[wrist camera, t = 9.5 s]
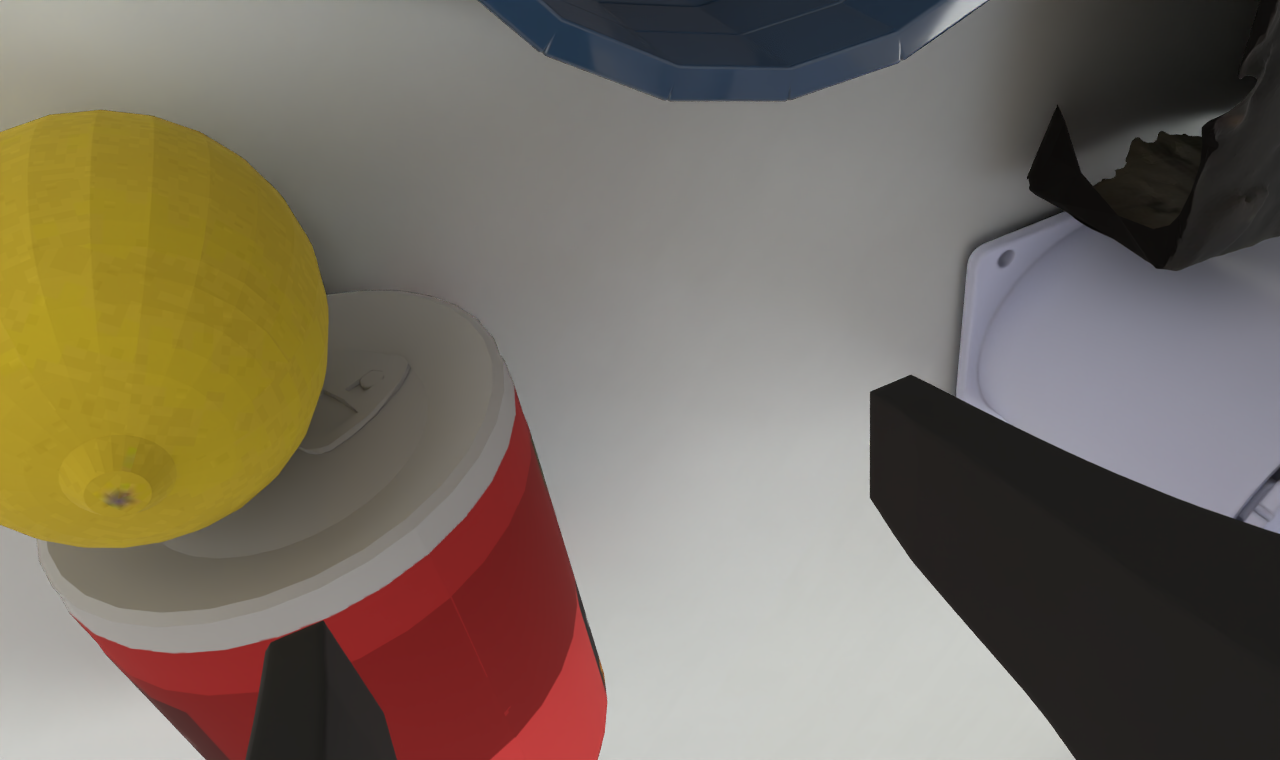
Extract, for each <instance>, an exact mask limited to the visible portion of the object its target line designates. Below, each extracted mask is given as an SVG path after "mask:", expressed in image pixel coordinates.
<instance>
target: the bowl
mask: <svg viewBox="0 0 1280 760" xmlns="http://www.w3.org/2000/svg"><path fill="white" fill-rule="evenodd" d="M477 1H478V2H480V3H481V4H482V5H483V6H484V7H486V8H487V9H488V10H489V11H490V12H492V13H493V14H494V15H495V16H496V17H498V18H499V19H500V20H501V21H502V22H503V23H505V24H506V25H507V26H508V27H509V28H511V29H512V30H513V31H514V32H515V33H517V34H518V35H519V36H520V37H521V38H523V39H524V40H525V41H526V42H527V43H529V44H530V45H531V46H532V47H533V48H534V49H536V50H537V51H538V52H541V53H543V54H544V55H545V56H547V57H549V58H552V59H555V60H557V61H560V62H563V63H565V64H568V65H571V66H573V67H576V68H579V69H581V70H584V71H587V72H589V73H592V74H595V75H597V76H600V77H603V78H605V79H608V80H611V81H613V82H616V83H619V84H621V85H624V86H627V87H629V88H632V89H635V90H637V91H640V92H643V93H645V94H648V95H651V96H653V97H656V98H659V99H661V100H668V101H747V102H784V101H787V100H793V99H795V98H798V97H801V96H804V95H807V94H810V93H813V92H816V91H819V90H822V89H825V88H827V87H830V86H833V85H836V84H839V83H842V82H845V81H848V80H851V79H854V78H856V77H859V76H862V75H865V74H868V73H871V72H874V71H877V70H880V69H883V68H885V67H888V66H891V65H894V64H897V63H899V62H900V61H901V60H905V59H907V58H908V57H909V56H911V55H912V54H914V53H915V52H917V51H918V50H919V49H921V48H922V47H924V46H925V45H927V44H928V43H929V42H931V41H932V40H934V39H935V38H936V37H938V36H939V35H941V34H942V33H944V32H945V31H946V30H948V29H949V28H951V27H952V26H954V25H955V24H956V23H958V22H959V21H961V20H962V19H964V18H965V17H966V16H968V15H969V14H971V13H972V12H973V11H975V10H976V9H978V8H979V7H981V6H982V5H983V4H985V3H986V2H988V1H989V0H477Z"/></svg>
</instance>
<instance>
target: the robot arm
mask: <svg viewBox="0 0 1280 760" xmlns="http://www.w3.org/2000/svg"><path fill="white" fill-rule="evenodd" d="M1001 255H1002V256H1001ZM870 499H871V500H872V502H873V503H874V505H875V506H876V508H877V509H878V511H879V512H880V514H881V516H882V517H883V519H884V520H885V522H886V523H887V525H888V526H889V528H890V529H891V531H892V533H893V534H894V535H895V537H896V538H897V540H898V541H899V543H900V544H901V546H902V547H903V549H904V550H905V551H906V553H907V554H908V556H909V557H910V559H911V560H912V561H913V563H914V564H915V565H916V566H917V567H918V569H919V570H920V571H921V572H922V573H923V575H924V576H925V577H926V578H927V579H928V580H929V582H930V583H931V584H932V585H933V586H934V587H935V589H936V590H937V591H938V592H939V593H940V594H941V596H942V597H943V598H944V599H945V600H946V601H947V603H948V604H949V605H950V606H951V607H952V608H953V610H954V611H955V612H956V613H957V614H958V615H959V616H960V618H961V619H962V620H963V621H964V622H965V623H966V624H967V626H968V627H969V628H970V629H971V630H972V631H973V632H974V634H975V635H976V636H977V637H978V638H979V639H980V641H981V642H982V643H983V644H984V645H985V646H986V647H987V649H988V650H989V651H990V652H991V653H992V654H993V655H994V657H995V658H996V659H997V660H998V661H999V662H1000V663H1001V665H1002V666H1003V667H1004V668H1005V669H1006V670H1007V672H1008V673H1009V674H1010V675H1011V676H1012V677H1013V678H1014V680H1015V681H1016V682H1017V683H1018V684H1019V685H1020V686H1021V688H1022V689H1023V690H1024V691H1025V692H1026V694H1027V695H1028V696H1029V697H1030V699H1031V700H1032V701H1033V702H1034V704H1035V705H1036V706H1037V707H1038V709H1039V710H1040V711H1041V712H1042V714H1043V715H1044V716H1045V717H1046V719H1047V720H1048V721H1049V723H1050V724H1051V725H1052V727H1053V728H1054V729H1055V731H1056V732H1057V734H1058V735H1059V737H1060V738H1061V739H1062V741H1063V742H1064V744H1065V745H1066V746H1067V748H1068V749H1069V751H1070V752H1071V753H1072V755H1073V756H1074V758H1075V759H1076V760H1280V236H1279V237H1274V238H1270V239H1266V240H1264V241H1261V242H1259V243H1258V244H1256V245H1254V246H1251V247H1247V248H1243V249H1240V250H1237V251H1234V252H1231V253H1227V254H1225V255H1222V256H1216V257H1212V258H1210V259H1208V260H1205V261H1203V262H1200V263H1197V264H1194V265H1192V266H1189V267H1187V268H1184V269H1182V270H1179V271H1171V270H1166V269H1156V268H1155V267H1154V266H1153V265H1152V264H1150V263H1149V262H1147V261H1145V260H1144V259H1142V258H1141V257H1139V256H1138V255H1136V254H1135V253H1133V252H1132V251H1130V250H1129V249H1127V248H1126V247H1124V246H1123V245H1121V244H1120V243H1118V242H1117V241H1115V240H1114V239H1112V238H1110V237H1108V236H1105V235H1103V234H1101V233H1099V232H1097V231H1095V230H1092V229H1090V228H1089V227H1087V226H1085V225H1084V224H1082V223H1080V222H1079V221H1077V220H1076V219H1075V218H1074V217H1073V216H1071V215H1070V214H1068V213H1067V212H1066V211H1065V212H1062V213H1060V214H1057V215H1055V216H1052V217H1049V218H1047V219H1044V220H1042V221H1039V222H1037V223H1034V224H1032V225H1029V226H1027V227H1024V228H1022V229H1019V230H1017V231H1014V232H1012V233H1009V234H1007V235H1004V236H1002V237H999V238H997V239H994V240H991V241H989V242H986V243H984V244H982V245H980V246H979V247H977V248H976V249H975V250H974V251H973V252H972V254H971V256H970V257H969V260H968V264H967V273H966V285H965V296H964V308H963V319H962V330H961V342H960V353H959V365H958V376H957V387H956V397H955V396H953V395H951V394H949V393H947V392H945V391H943V390H941V389H939V388H937V387H935V386H933V385H931V384H929V383H927V382H925V381H923V380H921V379H919V378H917V377H915V376H912V375H909V376H907V377H904V378H902V379H900V380H897V381H895V382H892V383H890V384H888V385H885V386H883V387H880V388H878V389H876V390H873V391H871V392H870ZM245 760H397V758H396V754H395V751H394V747H393V744H392V740H391V737H390V733H389V729H388V726H387V722H386V719H385V715H384V712H383V711H382V709H381V708H380V706H379V705H378V703H377V702H376V700H375V699H374V697H373V695H372V694H371V692H370V691H369V689H368V688H367V686H366V685H365V683H364V682H363V680H362V679H361V677H360V676H359V674H358V673H357V671H356V670H355V668H354V666H353V665H352V663H351V662H350V660H349V659H348V657H347V656H346V654H345V653H344V651H343V650H342V648H341V647H340V645H339V644H338V642H337V640H336V639H335V637H334V636H333V634H332V633H331V631H330V630H329V628H328V627H327V625H326V624H325V622H324V621H320V622H318V623H316V624H313V625H311V626H308V627H306V628H304V629H301V630H299V631H296V632H294V633H292V634H289V635H287V636H284V637H282V638H280V639H277V640H275V641H272V642H271V643H270V644H269V646H268V648H267V650H266V651H265V656H264V663H263V669H262V676H261V682H260V687H259V693H258V699H257V704H256V710H255V715H254V720H253V725H252V730H251V735H250V740H249V745H248V749H247V754H246V759H245Z"/></svg>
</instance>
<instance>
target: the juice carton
mask: <svg viewBox="0 0 1280 760" xmlns="http://www.w3.org/2000/svg"><path fill="white" fill-rule="evenodd" d="M1248 75H1250V76H1254V77H1256V78H1257V83H1256V85H1255V86H1254V88H1253V89H1252V90H1251V92H1250V93H1249V94H1248V95H1247V96H1246V97H1245V98H1244V99H1243V100H1242V101H1241V102H1240V103H1239V104H1238V105H1237V106H1235V107H1234V108H1233V109H1232V110H1230V111H1229V112H1227V113H1225V114H1223V115H1221V116H1219V117H1217V118H1215V119H1213V120H1211V121H1209V122H1207V123H1206V124H1205V125H1204V126H1203V127H1202V137H1200V136H1188V135H1186V134H1182V135H1177V134H1176V135H1169V134H1167V133H1165V132H1163V131H1161V132H1159V133H1158V137H1157V140H1156V141H1155V142H1153V143H1147V142H1144V141H1142V140H1141V139H1140V138H1138V137H1137V138H1135V139H1134V140H1133V141H1132V143H1131V145H1130V150H1129V153H1128V155H1127V157H1126V160H1125V161H1126V163H1127V164H1126V165H1125V166H1124V168H1121V169H1117V170H1115V171H1116V176H1115V177H1114V178H1112V179H1102V181H1101V182H1099V183H1097V184H1096V185H1095V186H1092V185H1091V184H1090V182H1089V181H1088V180H1087V179H1086V178H1085V177H1084V176H1083V174H1082V173H1081V171H1080V168H1079V165H1078V161H1077V158H1076V155H1075V152H1074V149H1073V145H1072V142H1071V139H1070V136H1069V133H1068V129H1067V126H1066V123H1065V120H1064V118H1063V116H1062V114H1061V111H1060V109H1059V107H1058V105H1057V107H1056V109H1055V112H1054V114H1053V116H1052V119H1051V121H1050V123H1049V126H1048V128H1047V131H1046V133H1045V135H1044V138H1043V140H1042V143H1041V145H1040V147H1039V150H1038V152H1037V154H1036V157H1035V159H1034V162H1033V164H1032V166H1031V169H1030V171H1029V173H1028V176H1027V179H1029V184H1030V186H1029V189H1030V191H1031V192H1033V193H1034V194H1035V195H1036V196H1038V197H1040V198H1042V199H1044V200H1046V201H1048V202H1050V203H1051V204H1053V205H1055V206H1057V207H1059V208H1060V209H1062V210H1064V211H1066V212H1067V213H1068V214H1070V215H1071V216H1073V217H1074V218H1075V219H1076V220H1077V221H1079V222H1080V223H1082V224H1084V225H1085V226H1087V227H1089V228H1090V229H1092V230H1095V231H1097V232H1099V233H1101V234H1103V235H1105V236H1108V237H1110V238H1112V239H1114V240H1115V241H1117V242H1118V243H1120V244H1121V245H1123V246H1124V247H1126V248H1127V249H1129V250H1130V251H1132V252H1133V253H1135V254H1136V255H1138V256H1139V257H1141V258H1142V259H1144V260H1145V261H1147V262H1149V263H1150V264H1152V265H1153V266H1154V267H1155V268H1156V269H1166V270H1171V271H1179V270H1182V269H1184V268H1187V267H1189V266H1192V265H1194V264H1197V263H1200V262H1203V261H1205V260H1208V259H1210V258H1212V257H1216V256H1222V255H1225V254H1227V253H1231V252H1234V251H1237V250H1240V249H1243V248H1247V247H1251V246H1254V245H1256V244H1258V243H1259V242H1261V241H1264V240H1266V239H1270V238H1274V237H1279V236H1280V0H1260V2H1259V5H1258V8H1257V12H1256V15H1255V18H1254V22H1253V25H1252V28H1251V32H1250V35H1249V38H1248V42H1247V45H1246V48H1245V52H1244V55H1243V58H1242V62H1241V66H1240V69H1239V73H1238V77H1239V78H1240V79H1241V78H1243V77H1244V76H1248Z"/></svg>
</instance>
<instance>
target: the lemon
mask: <svg viewBox="0 0 1280 760" xmlns="http://www.w3.org/2000/svg"><path fill="white" fill-rule="evenodd" d="M328 324H329V315H328V303H327V296H326V293H325V289H324V285H323V282H322V278H321V274H320V271H319V267H318V263H317V259H316V256H315V253H314V250H313V247H312V245H311V243H310V241H309V239H308V237H307V235H306V234H305V232H304V230H303V229H302V227H301V226H300V224H299V222H298V221H297V219H296V218H295V216H294V214H293V213H292V211H291V209H290V208H289V206H288V205H287V203H286V201H285V200H284V198H283V197H282V196H281V195H280V193H279V192H278V191H277V190H276V189H275V188H274V187H273V186H272V185H271V184H270V183H269V182H268V181H266V180H265V179H264V178H263V177H262V176H261V175H260V174H259V173H258V172H257V171H256V170H255V169H254V168H253V167H252V166H251V165H250V164H249V163H248V162H247V161H246V160H244V159H243V158H242V157H241V156H239V155H237V154H236V153H234V152H232V151H231V150H229V149H228V148H226V147H224V146H223V145H221V144H219V143H218V142H216V141H214V140H213V139H211V138H209V137H208V136H206V135H204V134H203V133H201V132H199V131H196V130H193V129H190V128H187V127H184V126H181V125H178V124H175V123H172V122H169V121H166V120H163V119H160V118H158V117H155V116H150V115H142V114H133V113H124V112H116V111H107V110H94V111H84V112H73V113H63V114H53V115H48V116H45V117H42V118H39V119H36V120H33V121H30V122H28V123H25V124H22V125H19V126H16V127H13V128H10V129H8V130H5V131H2V132H0V525H2V526H5V527H7V528H10V529H13V530H15V531H18V532H21V533H23V534H26V535H28V536H31V537H34V538H37V539H40V540H43V541H49V542H54V543H60V544H65V545H71V546H76V547H82V548H127V547H133V546H140V545H147V544H153V543H160V542H164V541H167V540H171V539H174V538H177V537H180V536H183V535H186V534H189V533H192V532H195V531H198V530H201V529H203V528H206V527H208V526H210V525H211V524H213V523H215V522H217V521H219V520H221V519H222V518H224V517H226V516H228V515H230V514H231V513H233V512H235V511H237V510H239V509H240V508H242V507H243V506H244V505H245V504H246V503H248V502H249V501H250V500H251V499H252V498H253V497H255V496H256V495H257V494H258V493H259V492H260V491H262V490H263V489H264V488H265V487H266V486H267V485H269V484H270V483H271V482H272V481H273V480H274V479H275V478H276V477H277V476H278V475H279V474H280V472H281V471H282V469H283V468H284V467H285V465H286V464H287V462H288V461H289V460H290V458H291V457H292V455H293V454H294V453H295V451H296V450H297V448H298V447H299V445H300V444H301V442H302V440H303V439H304V437H305V435H306V434H307V431H308V428H309V425H310V422H311V419H312V416H313V413H314V411H315V408H316V405H317V402H318V399H319V396H320V393H321V390H322V387H323V384H324V379H325V375H326V368H327V355H328Z"/></svg>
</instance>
